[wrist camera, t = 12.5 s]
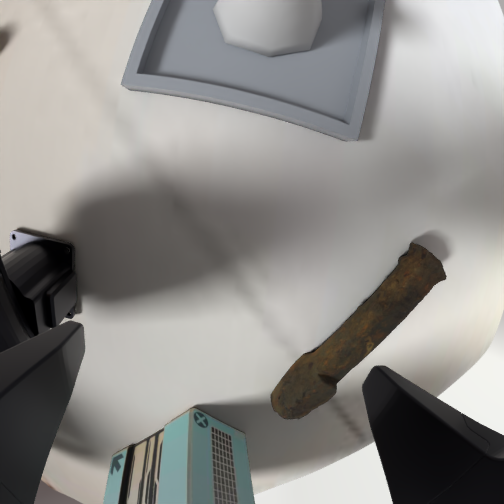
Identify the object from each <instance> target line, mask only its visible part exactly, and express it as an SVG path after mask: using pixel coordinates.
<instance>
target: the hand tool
mask: <svg viewBox="0 0 504 504" xmlns="http://www.w3.org/2000/svg"><path fill="white" fill-rule="evenodd" d="M398 262H399V264H398V266H397V267H396V269H395V270H394V271H393V272H392V273H391V274H390V276H389V277H388V278H387V279H386V280H385V281H384V282H383V283H382V285H381V286H380V287H379V288H378V289H377V291H376V292H375V293H374V294H373V295H372V296H371V297H370V298H369V299H368V300H367V301H366V302H365V303H364V304H363V305H361V306H359V307H358V308H357V310H356V312H355V313H354V314H353V315H352V316H351V317H350V318H349V319H348V320H347V321H345V322H344V324H343V325H342V326H341V327H340V328H339V329H338V330H337V331H336V332H335V333H334V334H333V335H332V336H331V337H330V338H329V339H327V340H326V341H325V342H324V343H323V344H322V345H321V346H320V347H319V348H318V349H317V350H316V351H315V352H313V353H305V354H303V355H302V356H301V357H300V358H299V359H298V360H297V361H296V362H295V363H294V364H293V365H292V366H291V367H290V369H289V370H288V371H287V372H286V374H285V375H284V376H283V378H282V379H281V380H280V382H279V383H278V384H277V386H276V387H275V389H274V390H273V392H272V394H271V403H272V406H273V409H274V411H275V412H277V413H278V414H279V415H280V416H281V417H282V418H284V419H296V418H297V419H300V418H302V417H304V416H306V415H307V414H309V413H310V412H311V411H312V410H313V409H315V408H317V407H318V406H320V405H322V404H324V403H326V402H327V401H328V400H329V399H331V398H332V397H333V396H334V395H335V393H336V389H337V383H338V382H339V381H340V380H341V379H342V378H343V377H344V376H345V375H346V374H347V373H348V372H349V371H350V370H351V369H352V368H354V367H355V366H356V365H357V364H358V363H360V362H361V361H362V360H363V359H364V358H365V357H366V356H367V355H368V354H369V353H370V352H372V351H373V350H374V349H375V348H376V347H377V346H378V345H379V344H380V343H381V342H382V341H383V340H384V339H385V338H386V337H387V336H388V335H389V334H390V333H391V332H392V331H393V330H394V329H395V328H396V327H397V326H398V325H399V324H400V323H401V322H402V321H403V320H404V319H405V318H406V317H407V316H408V315H409V313H410V312H411V311H412V310H413V309H414V308H415V307H416V306H417V305H418V303H419V302H421V301H422V300H423V298H424V297H425V296H426V295H427V294H428V293H429V292H430V290H431V289H432V288H433V286H434V285H436V284H437V283H438V282H440V281H443V280H445V279H446V274H445V271H444V269H443V266H442V263H441V261H440V260H438V259H437V258H436V257H435V256H434V255H433V254H432V253H431V252H429V251H428V250H427V249H426V248H424V247H422V246H420V245H417V244H414V243H410V247H409V252H408V254H407V255H406V256H402V257H400V258H399V259H398Z"/></svg>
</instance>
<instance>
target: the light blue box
mask: <svg viewBox="0 0 504 504" xmlns="http://www.w3.org/2000/svg"><path fill="white" fill-rule="evenodd" d="M103 504H255V501H254V494H253V487H252V481H251V474H250V467H249V460H248V452H247V445H246V438H245V434H244V433H242V432H240V431H238V430H236V429H234V428H232V427H230V426H228V425H226V424H224V423H222V422H220V421H218V420H216V419H215V418H213V417H211V416H209V415H207V414H205V413H204V412H202V411H200V410H198V409H196V408H191V409H189V410H188V411H186V412H185V413H183V414H182V415H180V416H179V417H177V418H175V419H174V420H172V421H171V422H169V423H167V424H166V425H165V427H164V428H163V429H161V430H159V431H158V432H156V433H154V434H153V435H151V436H149V437H147V438H146V439H144V440H142V441H141V442H139V443H137V444H135V445H133V446H128V447H127V448H125V449H123V450H121V451H119V452H118V453H116V454H114V455H113V456H112V460H111V465H110V470H109V475H108V480H107V485H106V490H105V496H104V501H103Z"/></svg>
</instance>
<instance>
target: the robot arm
mask: <svg viewBox="0 0 504 504" xmlns="http://www.w3.org/2000/svg"><path fill="white" fill-rule="evenodd" d="M15 235H16V238H15ZM67 248H69V250H70V252H68V251H67ZM10 250H11V251H9V252H8V253H6V254H5V255H3V256H1V255H0V504H34V501H35V497H36V493H37V490H38V486H39V483H40V480H41V477H42V473H43V470H44V467H45V464H46V461H47V458H48V455H49V452H50V449H51V447H52V444H53V441H54V438H55V436H56V433H57V430H58V428H59V425H60V423H61V420H62V418H63V415H64V413H65V410H66V408H67V405H68V403H69V400H70V398H71V395H72V392H73V388H74V385H75V382H76V378H77V375H78V372H79V369H80V366H81V362H82V359H83V356H84V353H85V339H84V327H83V325H82V324H81V323H78V322H74V321H67V322H65V323H63V324H61V325H59V324H60V323H61V321H62V320H63V319H64V317H65V318H69V319H72V318H73V317H74V315H75V313H76V312H75V303H76V302H77V283H76V272H75V271H74V261H75V248H74V246H73V244H72V243H69V242H65V241H61V240H57V239H53V238H48V237H44V236H40V235H36V234H32V233H28V232H24V231H20V230H14V231H12V232H11V233H10ZM0 253H1V251H0ZM69 312H70V313H71V314H70V313H69ZM58 325H59V326H58ZM50 328H52V329H50ZM362 391H363V395H364V400H365V404H366V409H367V414H368V418H369V423H370V427H371V430H372V434H373V437H374V440H375V443H376V446H377V450H378V453H379V456H380V459H381V462H382V466H383V470H384V473H385V476H386V480H387V483H388V487H389V490H390V494H391V498H392V501H393V504H504V435H502V434H500V433H498V432H496V431H494V430H492V429H490V428H488V427H486V426H484V425H482V424H480V423H478V422H476V421H475V420H473V419H471V418H469V417H468V416H466V415H464V414H463V413H462V414H461V412H459V411H458V410H456V409H454V408H453V407H451V406H449V405H448V404H446V403H444V402H443V401H441V400H440V399H438V398H436V397H435V396H433V395H431V394H430V393H428V392H426V391H425V390H423V389H422V388H420V387H418V386H417V385H415V384H414V383H412V382H410V381H409V380H407V379H406V378H404V377H402V376H401V375H399V374H398V373H396V372H394V371H393V370H391V369H390V368H388V367H386V366H374V367H373V368H372V369H371V371H370V373H369V374H368V376H367V378H366V379H365V381H364V383H363V386H362Z"/></svg>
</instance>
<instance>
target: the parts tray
mask: <svg viewBox="0 0 504 504" xmlns="http://www.w3.org/2000/svg"><path fill="white" fill-rule="evenodd" d="M217 1H218V0H152V1H151V3H150V6H149V8H148V10H147V13H146V15H145V17H144V20H143V22H142V25H141V27H140V30H139V32H138V35H137V37H136V40H135V43H134V45H133V48H132V51H131V54H130V57H129V60H128V63H127V66H126V69H125V72H124V75H123V79H122V82H121V85H122V86H124V87H125V88H127V89H129V90H131V91H140V92H149V93H156V94H164V95H170V96H177V97H183V98H189V99H194V100H199V101H205V102H210V103H215V104H219V105H224V106H228V107H233V108H237V109H241V110H245V111H249V112H253V113H257V114H261V115H265V116H269V117H272V118H276V119H279V120H283V121H286V122H289V123H293V124H296V125H299V126H302V127H305V128H309V129H312V130H315V131H318V132H321V133H323V134H326V135H329V136H332V137H335V138H338V139H340V140H343V141H358V137H359V133H360V129H361V125H362V121H363V117H364V112H365V108H366V103H367V99H368V94H369V90H370V85H371V80H372V75H373V70H374V65H375V60H376V55H377V49H378V44H379V38H380V32H381V25H382V19H383V12H384V5H385V0H321V2H322V21H321V23H320V26H319V28H318V31H317V33H316V36H315V38H314V41H313V43H312V46H311V48H310V50H306V51H299V52H293V53H287V54H282V55H276V56H271V57H267V56H264V55H261V54H258V53H255V52H252V51H249V50H246V49H243V48H240V47H237V46H234V45H230V44H227V43H225V41H224V39H223V36H222V33H221V30H220V28H219V25H218V22H217V19H216V17H215V14H214V11H213V8H214V6H215V5H216V3H217Z"/></svg>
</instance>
